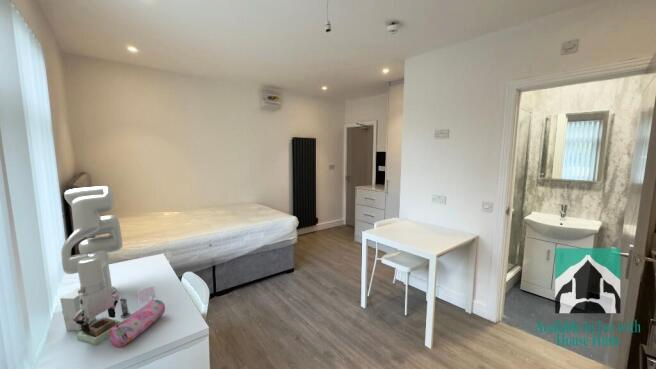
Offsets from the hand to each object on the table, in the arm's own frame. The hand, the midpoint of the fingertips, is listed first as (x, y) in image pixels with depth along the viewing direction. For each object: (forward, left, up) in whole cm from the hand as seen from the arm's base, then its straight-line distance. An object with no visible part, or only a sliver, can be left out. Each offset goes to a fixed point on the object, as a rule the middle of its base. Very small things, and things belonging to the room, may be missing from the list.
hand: (99, 324), depth 112 cm
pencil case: (+15, +6, -4) cm, 16 cm away
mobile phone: (-9, +27, -5) cm, 29 cm away
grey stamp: (-2, +11, -4) cm, 12 cm away
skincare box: (-15, +1, -4) cm, 15 cm away
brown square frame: (0, 0, -3) cm, 3 cm away
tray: (0, 0, -4) cm, 4 cm away
